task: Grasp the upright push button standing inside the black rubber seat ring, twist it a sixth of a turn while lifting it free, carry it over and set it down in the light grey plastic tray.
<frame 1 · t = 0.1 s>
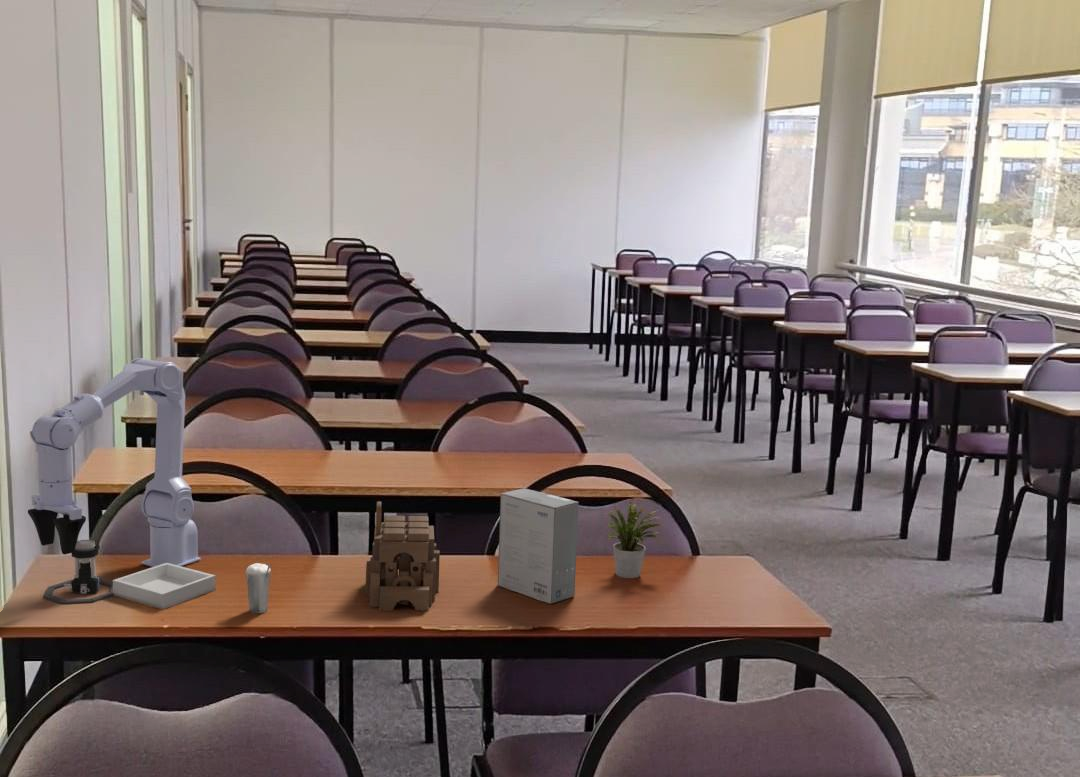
hand: (57, 548, 217), 10 cm above the table, tool pointing down, fingers open, 7 cm apart
milkshake: (259, 612, 217), on the table
tray: (164, 592, 225), on the table
wooden puzzle: (402, 592, 232), on the table
seat ring: (81, 591, 223), on the table
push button: (82, 592, 224), on the table
house plant: (625, 576, 247), on the table
hard drive box: (535, 592, 235), on the table
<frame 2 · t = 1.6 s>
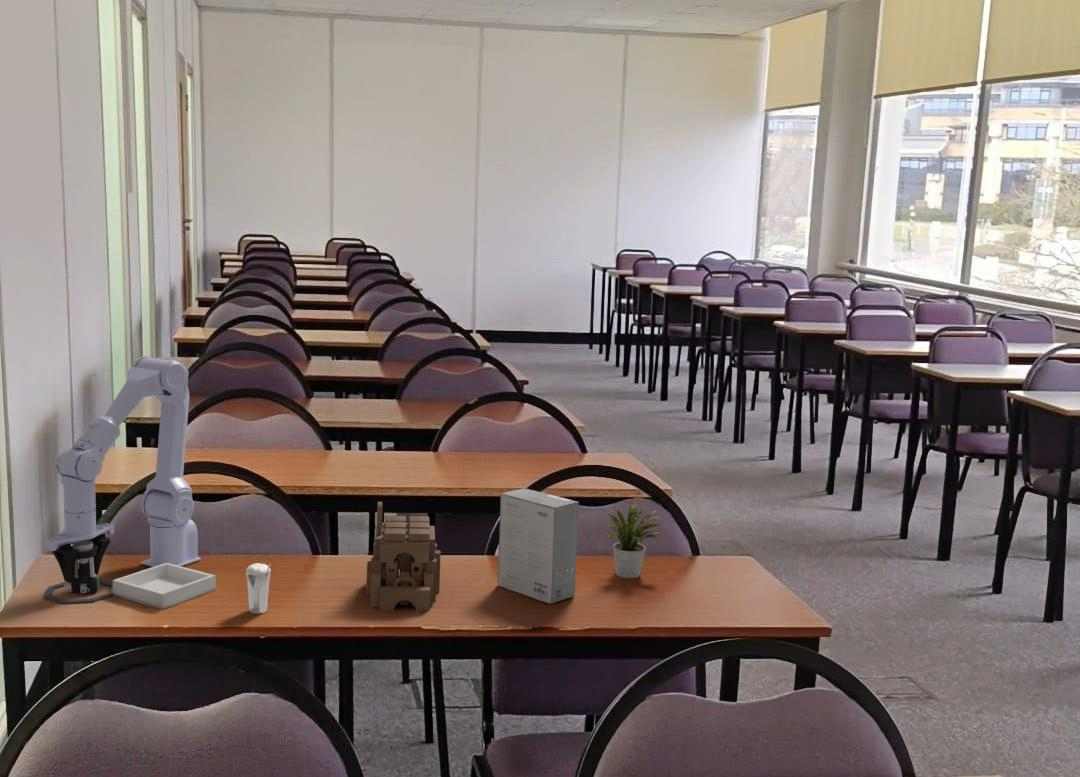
hand: (81, 577, 223), 3 cm above the table, tool pointing down, fingers closed on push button, 5 cm apart
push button: (82, 592, 224), on the table, touching gripper
everything else where it was.
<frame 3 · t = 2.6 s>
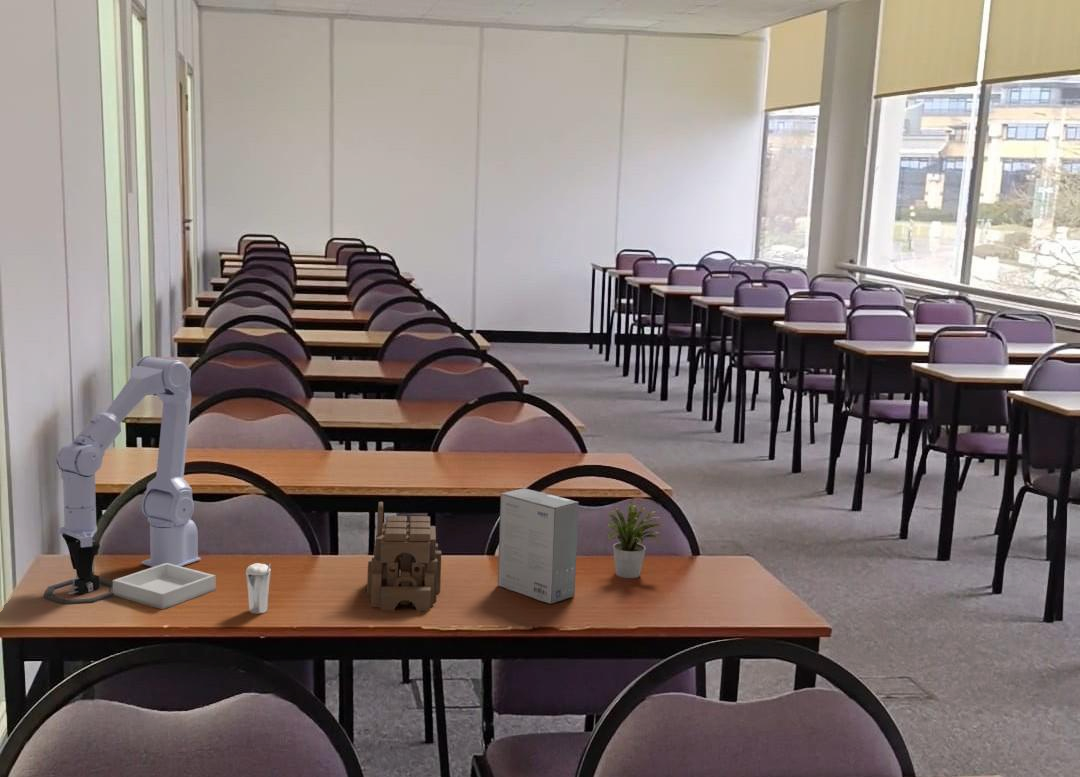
hand: (81, 572, 223), 4 cm above the table, tool pointing down, fingers closed on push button, 5 cm apart
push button: (82, 592, 223), on the table, touching gripper
everything else where it was.
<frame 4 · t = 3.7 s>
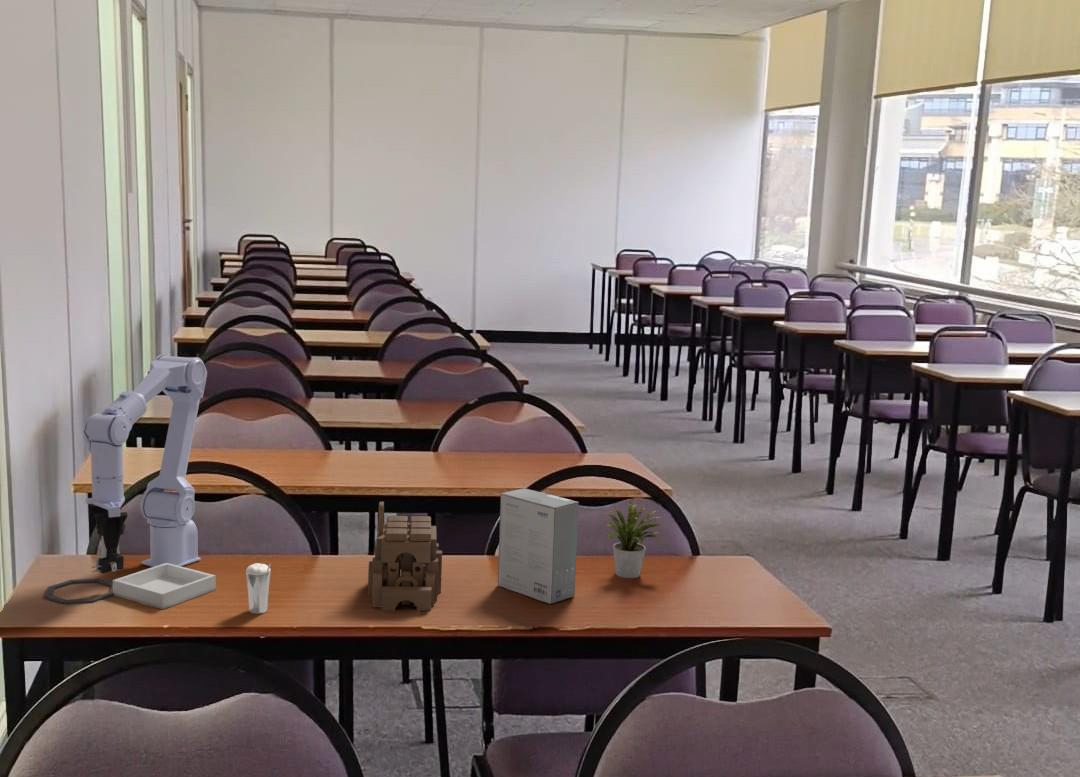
hand: (109, 543, 222), 10 cm above the table, tool pointing down, fingers closed on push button, 5 cm apart
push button: (106, 571, 223), point 4 cm above the table, touching gripper
everything else where it was.
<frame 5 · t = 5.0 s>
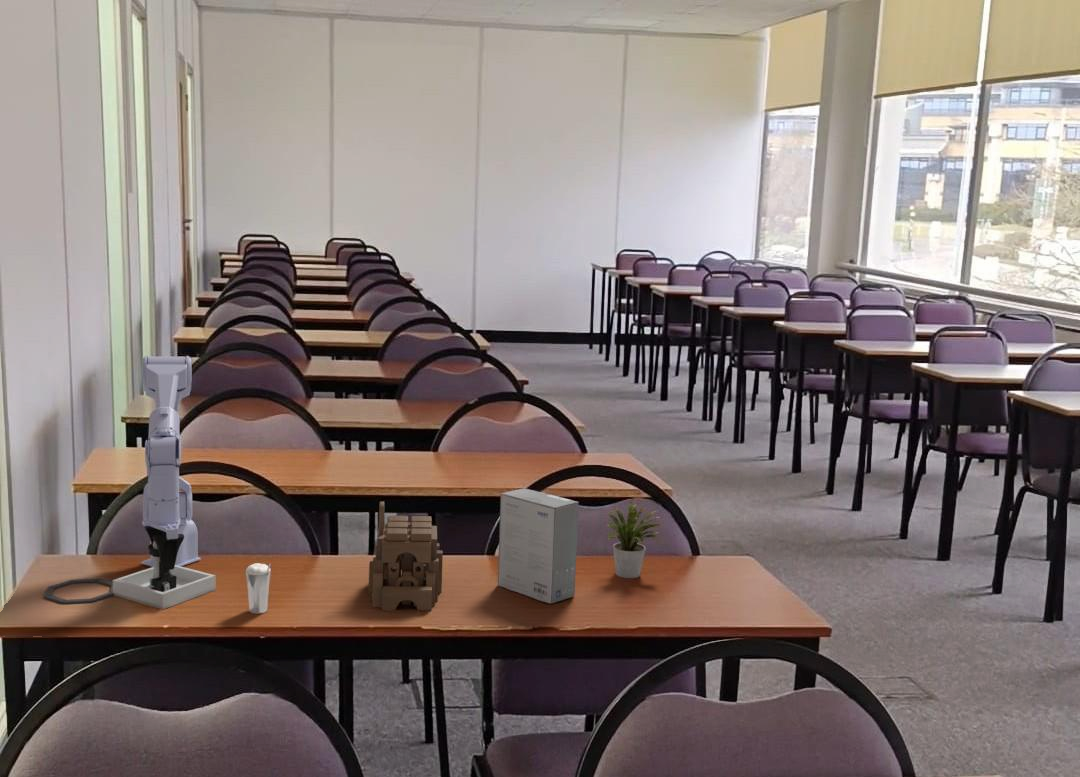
hand: (164, 565, 224), 6 cm above the table, tool pointing down, fingers closed on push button, 5 cm apart
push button: (159, 591, 224), resting in tray, touching gripper
everything else where it was.
when the fingers open (5 cm above the table, at t = 5.7 s): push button stays where it is, resting on tray.
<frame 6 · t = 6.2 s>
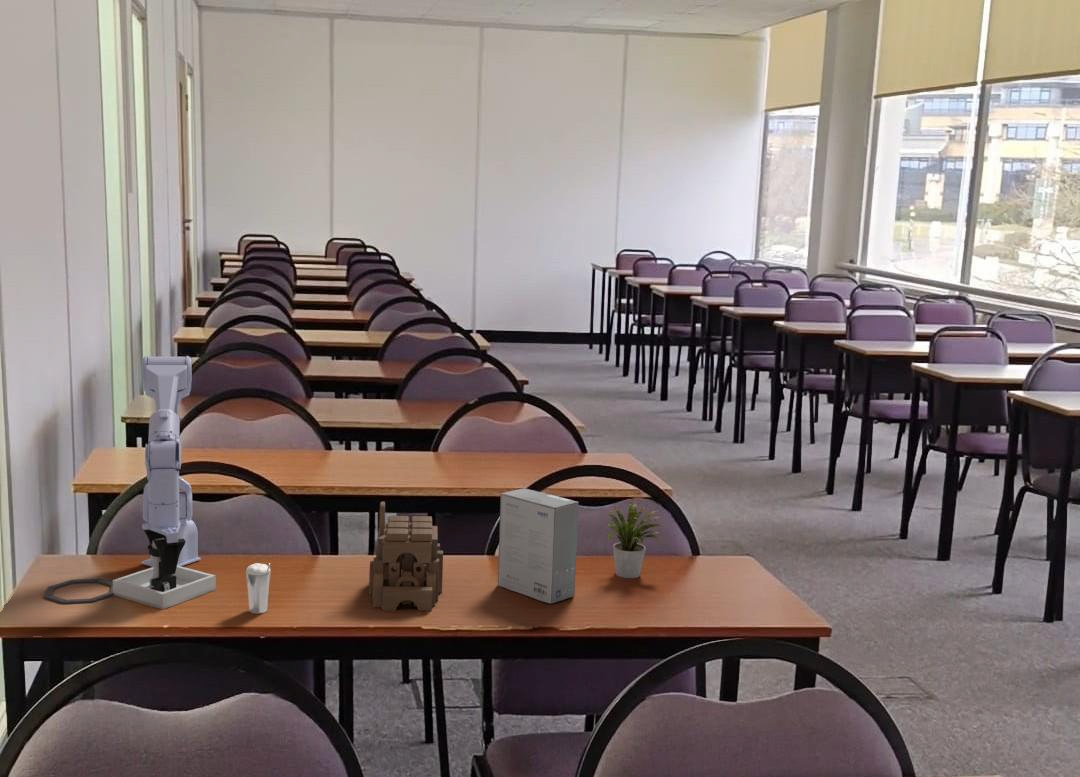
hand: (164, 568, 224), 5 cm above the table, tool pointing down, fingers open, 7 cm apart
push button: (159, 591, 224), resting on tray
everything else where it was.
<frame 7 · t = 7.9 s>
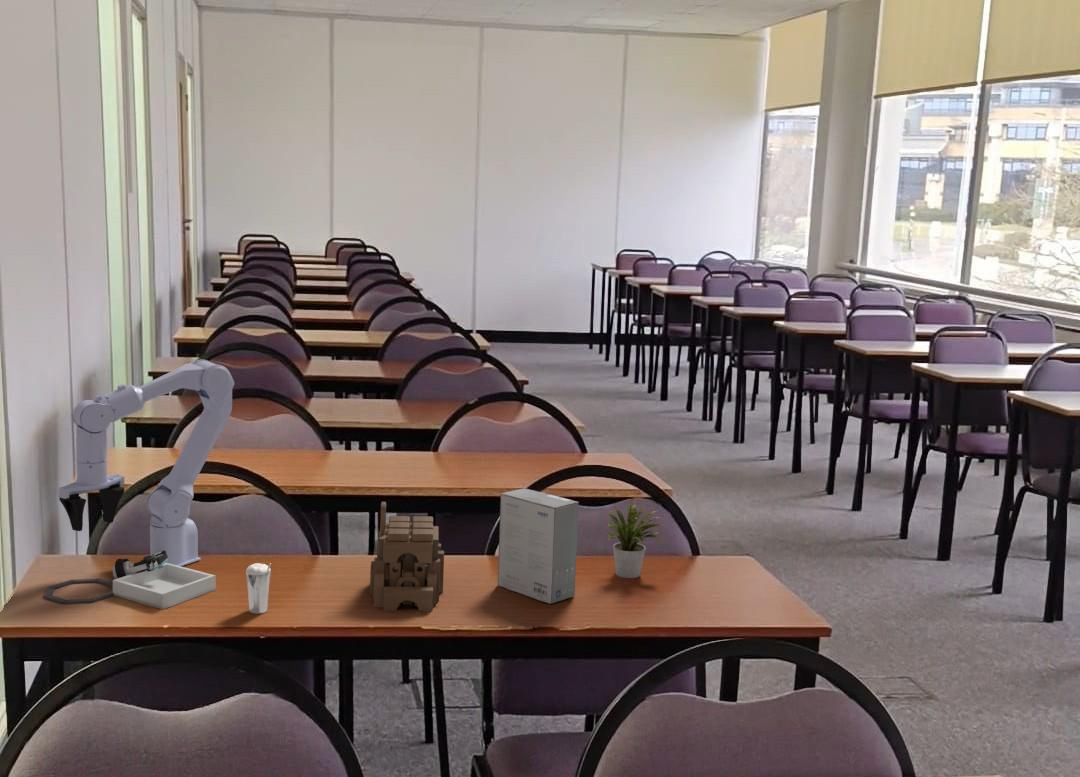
hand: (92, 526, 231), 10 cm above the table, tool pointing down, fingers open, 7 cm apart
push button: (163, 559, 227), point 6 cm above the table, touching tray
everything else where it was.
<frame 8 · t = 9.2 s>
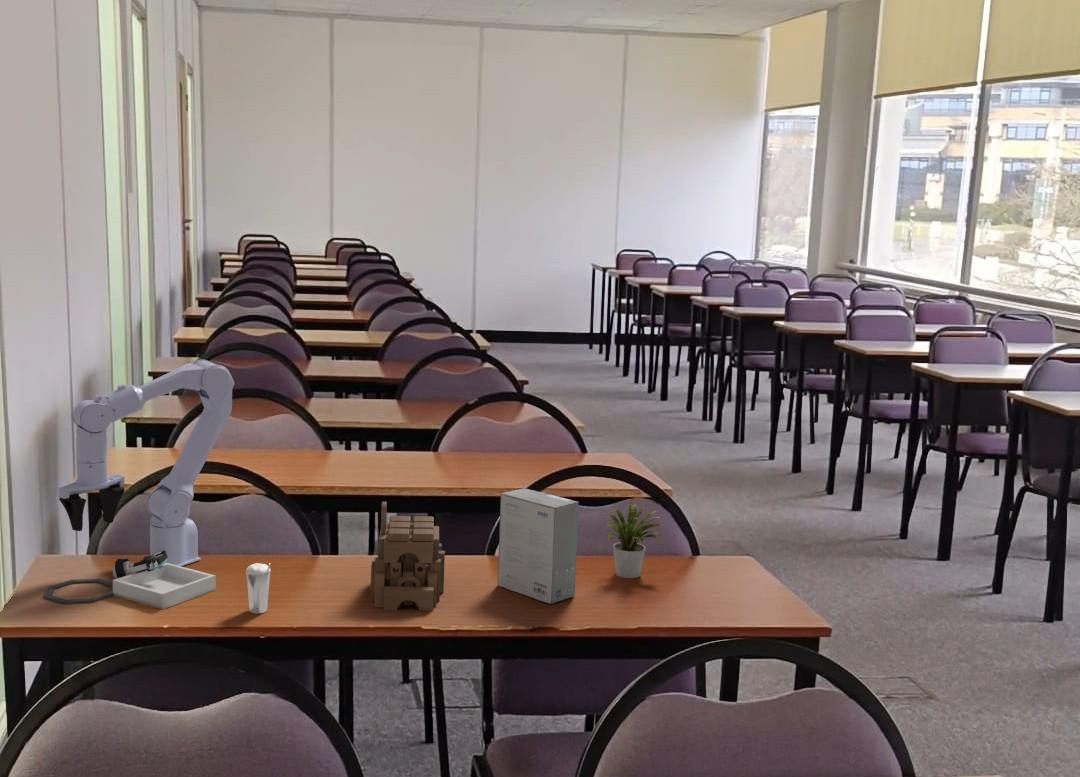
hand: (92, 526, 231), 10 cm above the table, tool pointing down, fingers open, 7 cm apart
at the end: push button inside the target area on the tray (3.1 cm from its centre), point 5.7 cm above the tray's base; the gripper is holding nothing; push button moved 16.3 cm from its start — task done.
